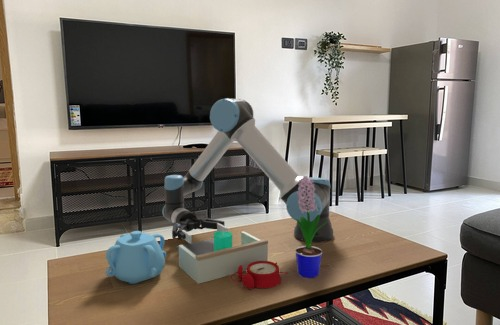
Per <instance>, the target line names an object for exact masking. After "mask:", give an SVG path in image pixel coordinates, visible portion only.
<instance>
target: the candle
mask: <svg viewBox="0 0 500 325" xmlns="http://www.w3.org/2000/svg"><path fill="white" fill-rule="evenodd" d="M213 240H214V251H218V250H222V249H226V248H230V247H233V232H230V231H228V232H223V231H217V230H216V231H215V232H214V233H213Z"/></svg>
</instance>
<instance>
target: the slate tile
mask: <svg viewBox="0 0 500 325" xmlns="http://www.w3.org/2000/svg"><path fill="white" fill-rule="evenodd" d="M182 245H183V246H184V247H186V248H187V249H188V250H190V251H191V252H192V253H193V254H195V255H196V256H197V255H201V254H205V253H209V252H213V251H214V238H208V239H205V240H200V241H194V242H192V243H185V244H182ZM176 249H177V250H178V251H179V245H176Z"/></svg>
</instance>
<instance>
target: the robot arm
mask: <svg viewBox="0 0 500 325" xmlns="http://www.w3.org/2000/svg"><path fill="white" fill-rule="evenodd" d="M209 121H210V123H211V125H212V127H213V128H214V129H215V130H217V132H216V133H215V135H214V136H213V137H212V139H211V140H210V142H209V143H208V144H207V146H206V147H205V148H204V150H202V152H201V153H200V155H199V156H198V157H197V159H196V160H195V162H194V163H193V164H192V166H191V167H190V169H189V170H188V171H187V173H186V174H185V175H184V176H183V175H180V174H171V175H166V176H165V177H164V185H163V188H164V202H165V203H164V206H163V207H162V210H161V212H162V216H163V217H164V219H165V221H167V222H169V223H171V224H172V230H171V234H172V239H176V237H177V239H178V240H179V241H181V240H184V241H186V242H187V244H189V243H193V242H192V239H193V238H192V236H193V235H192V234H190V233H189V232H192V231H193V230H203V229H208V230H216V231H223V232H229V231H228V230H229V228H228V227H227V226H226V225H225V221H224V220H219V219H213V218H209V217H207V216H204V217H203V219H201V218H198V217H197V215H196V214H195V213H194V212H192V211H190V210H188V209H186V208H185V196H187V195H188V194H191V193H193V192H194V193H195V192H197V191H198V190H200V189H201V188H202V186H203V182H204V180H205V179H206V178H207V176H208V175H209V174H210V173H211V171H212V170H213V169H214V167H215V166H216V165H217V164H218V162H219V161H220V160H221V158H222V157H223V156H224V154H226V152H227V151H228V150H229V148H230V147H231V146H232V144H233V143H234V142H237V143H238V144H239V145H240V146H241V147H242V149H243V150H244V151H245V152H246V153H247V154H248V156H249V157H250V158H251V159H252V161H254V162H255V163H256V165H257V166H258V168H260V169H261V171H262V172H263V173H264V174H265V175H266V176H267V178H268V179H269V181H271V182H272V183H273V185H274V186H275V187H276V188H277V189H278V190H279V191H280V193H279V198H280V199H281V200H282V201H283V202H284V204H285V206H286V211H287V213H288V216H289V217H291V219H293V220H295V221H296V219H298V220H299V221H300V222H301V220H300V217H304V218H305V219H306V220H307V212H305V211H304V212H303V213H302V212H301V210H300V208H299V205H300V204H298V202H299V201H298V199H299V198H297V197H298V196H297V192H298V193H299V191H301V190H298V188H299V186H300V185H298V184H300V183H301V182H300V183H299V182H298V181H299V179H300V178H301V179H302V177H304V175H299V174H298V173H297V172H296V171H295V170H294V168H293V167H292V166H291V165H290V164H289V163H288V162H287V161H286V159H285V158H284V157H283V155H281V154H280V152H278V150H277V149H276V148H275V146H273V145H272V144H271V142H270V141H269V140H268V139H267V138H266V137H265V136H264V134H263V132H261V131H260V130H259V129H258V127H257V126H256V119H255V118H254V110H253V107H252V105H251V104H250V102H248V101H247V100H245V99H241V98H230V97H226V98H221V99H218V100H217V101H216V102H215V103H213V105H212V107H211V109H210V112H209ZM307 177H308V179H312V180H313V181H314V182H312V184H313V185H312V186H314V188H315V191H314V195H316V196H315V198H316V199H315V198H314V200H315V203H317V209H318V210H317V209H315V210H313V212H312V210H310V211H309V215H310V223H311V222H313V221H314V219H315V218H316V216H317V215H318V214H319V215H320V219H319V222H318V224H317V227H316V229H317V228H318V227H320V226H321V225H323V224H324V223H325V222H327V221H328V222H327V223H326V224H325V225H323V226H322V227H321V228H319V229H318V230H317V232H316V233H315V235H314V237H313V239H312V242H311V243H321V242H328V241H330V240H332V239H333V238H334V229H333V228H332V227H333V226H332V222H331V220H330V203H331V202H330V198H331V194H330V193H331V182H330V179H328V178H322V177H311V176H307ZM310 177H311V178H310ZM303 180H304V179H303ZM299 197H300V196H299ZM305 199H306V198H305ZM312 200H313V199H312ZM311 206H312V205H311ZM315 206H316V204H315ZM295 218H296V219H295ZM316 229H315V230H316ZM293 231H294V233H293V236H294V237H295V238H296V239H298V240H301V241H305V239H304V236H303V233H302V230H301V228H300V226H299V224H298V223H297V222H296V224H295V226H294V230H293Z"/></svg>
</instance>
